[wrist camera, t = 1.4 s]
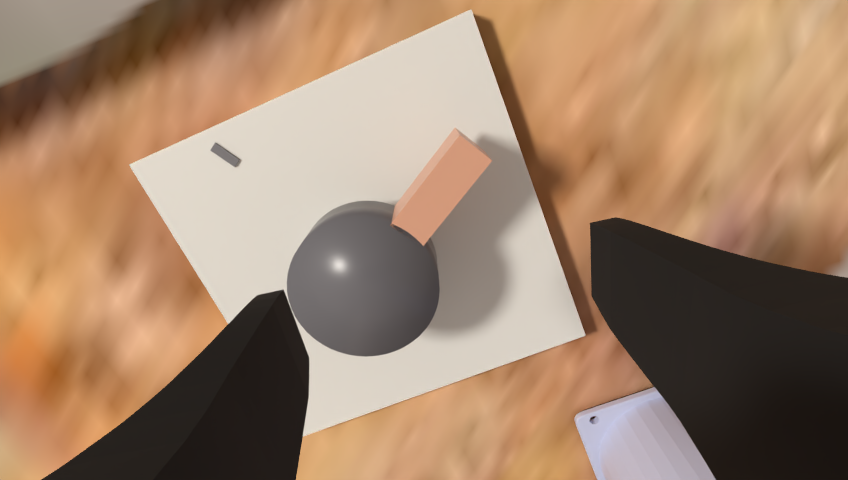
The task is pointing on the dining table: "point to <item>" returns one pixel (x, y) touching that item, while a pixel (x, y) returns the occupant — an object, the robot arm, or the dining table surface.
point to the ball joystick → (381, 259)
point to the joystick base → (385, 182)
